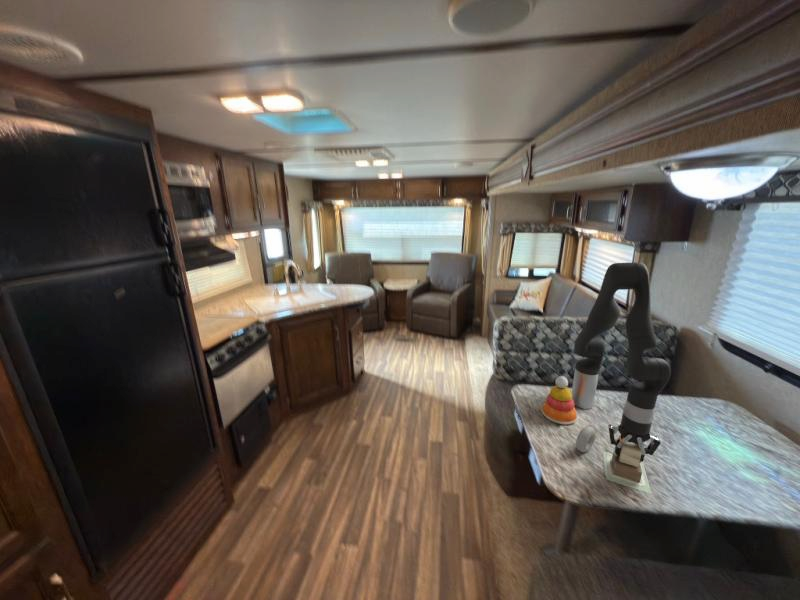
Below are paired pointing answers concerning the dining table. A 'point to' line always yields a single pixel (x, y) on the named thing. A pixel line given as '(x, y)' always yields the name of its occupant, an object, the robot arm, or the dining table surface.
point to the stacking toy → (560, 404)
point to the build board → (610, 475)
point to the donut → (585, 439)
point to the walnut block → (626, 469)
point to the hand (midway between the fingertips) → (627, 457)
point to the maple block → (630, 454)
